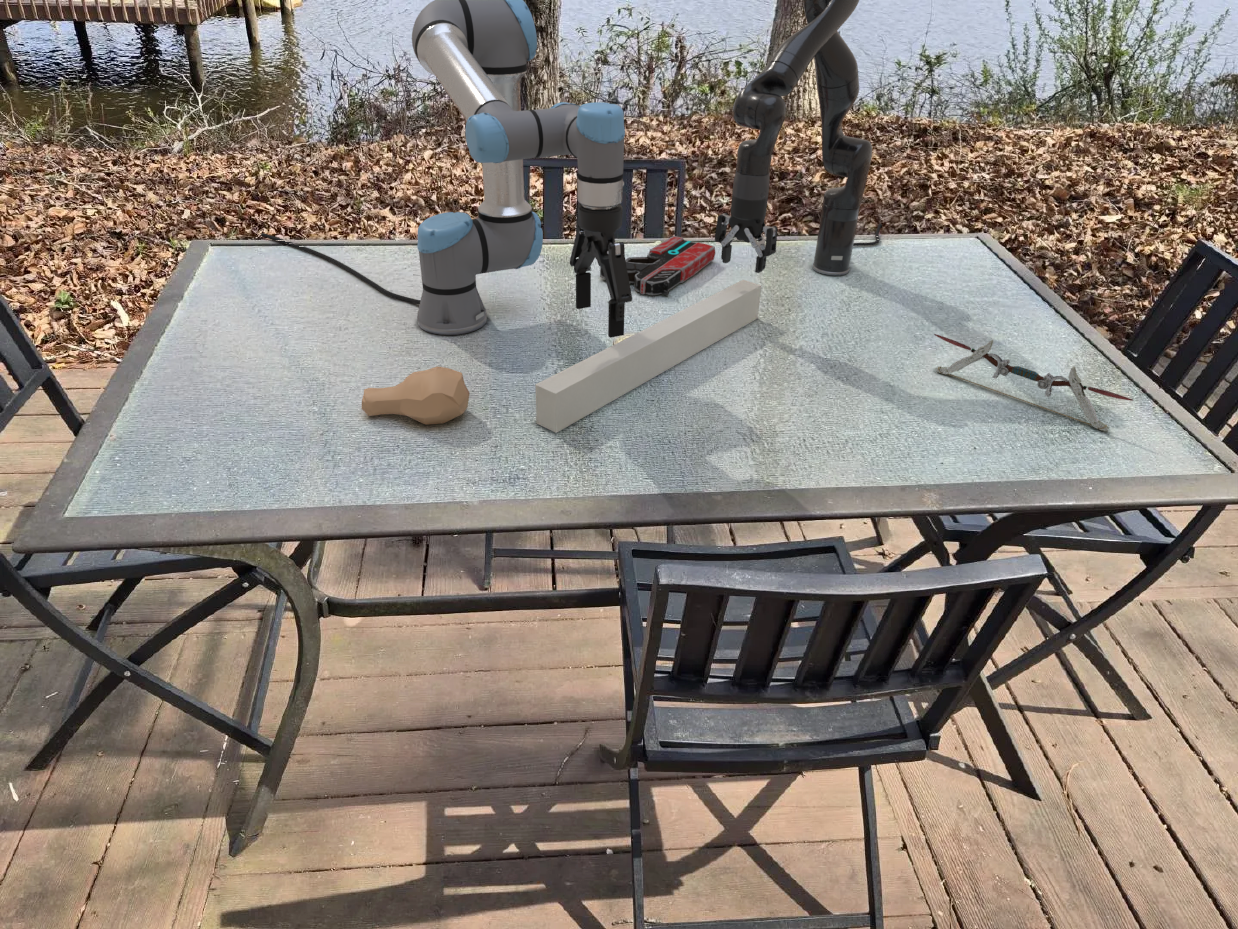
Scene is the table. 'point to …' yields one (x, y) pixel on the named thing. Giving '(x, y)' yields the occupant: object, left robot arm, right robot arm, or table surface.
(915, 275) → the table surface
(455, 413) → the squash
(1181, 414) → the table surface
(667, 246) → the gun
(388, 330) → the table surface
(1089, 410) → the bow
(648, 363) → the beam
